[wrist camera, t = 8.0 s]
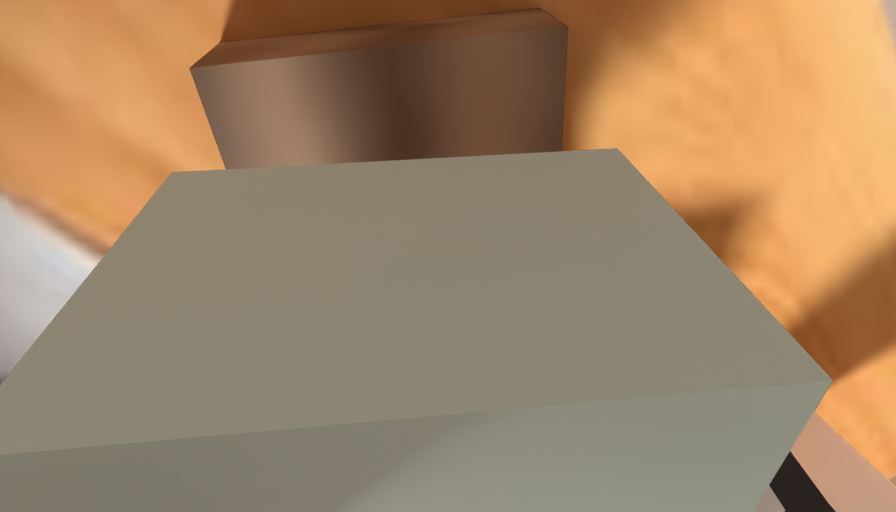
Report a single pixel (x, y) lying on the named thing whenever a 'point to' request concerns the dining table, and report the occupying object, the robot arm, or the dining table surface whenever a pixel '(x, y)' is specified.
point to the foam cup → (842, 471)
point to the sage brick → (407, 351)
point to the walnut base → (389, 91)
